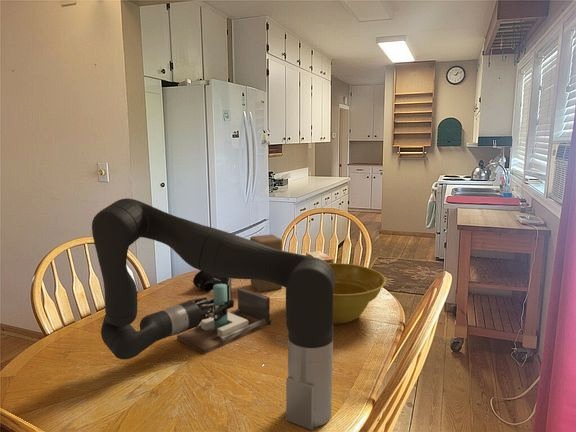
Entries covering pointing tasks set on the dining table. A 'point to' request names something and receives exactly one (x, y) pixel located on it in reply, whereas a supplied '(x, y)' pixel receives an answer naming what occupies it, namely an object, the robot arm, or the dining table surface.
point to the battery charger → (223, 281)
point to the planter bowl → (353, 290)
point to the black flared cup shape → (203, 281)
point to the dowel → (220, 297)
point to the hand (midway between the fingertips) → (227, 301)
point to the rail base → (248, 308)
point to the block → (273, 243)
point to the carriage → (233, 325)
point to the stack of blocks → (320, 256)
